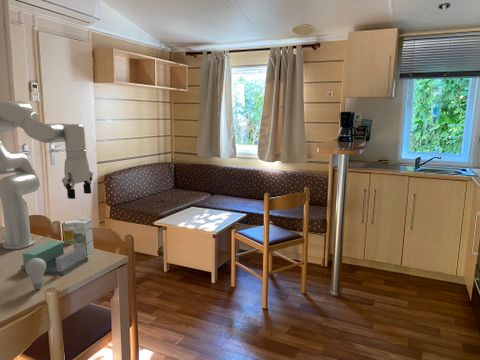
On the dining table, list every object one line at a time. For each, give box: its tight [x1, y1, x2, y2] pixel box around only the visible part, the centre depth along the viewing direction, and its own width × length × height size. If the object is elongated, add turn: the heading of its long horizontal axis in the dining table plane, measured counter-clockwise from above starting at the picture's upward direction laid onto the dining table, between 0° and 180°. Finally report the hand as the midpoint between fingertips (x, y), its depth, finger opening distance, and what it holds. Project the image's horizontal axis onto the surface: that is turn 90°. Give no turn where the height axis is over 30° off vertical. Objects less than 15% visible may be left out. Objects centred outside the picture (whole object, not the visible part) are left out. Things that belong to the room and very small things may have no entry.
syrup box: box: [72, 218, 95, 256], centre depth 155 cm, size 6×6×14 cm
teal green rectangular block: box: [22, 240, 65, 266], centre depth 144 cm, size 6×14×5 cm, turn 165°
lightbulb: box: [25, 258, 46, 290], centre depth 123 cm, size 6×6×11 cm
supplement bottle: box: [62, 220, 74, 245], centre depth 167 cm, size 5×5×10 cm
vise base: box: [20, 245, 89, 276], centre depth 143 cm, size 19×14×6 cm
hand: (79, 195), depth 151 cm, fingers open, 9 cm apart
